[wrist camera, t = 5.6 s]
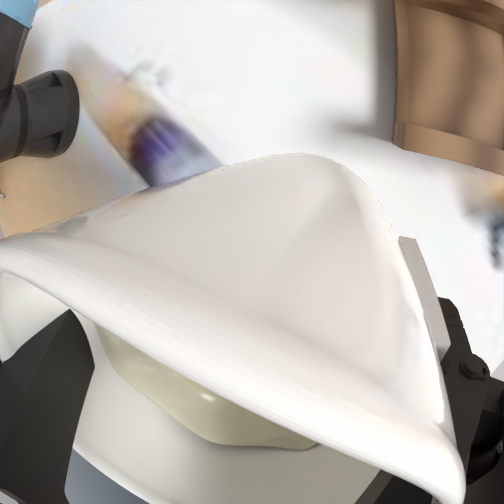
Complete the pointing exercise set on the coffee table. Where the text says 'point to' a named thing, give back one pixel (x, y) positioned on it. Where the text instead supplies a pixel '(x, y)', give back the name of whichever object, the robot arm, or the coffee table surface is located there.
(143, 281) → the candle holder
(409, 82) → the wooden tray
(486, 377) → the robot arm
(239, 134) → the coffee table surface
